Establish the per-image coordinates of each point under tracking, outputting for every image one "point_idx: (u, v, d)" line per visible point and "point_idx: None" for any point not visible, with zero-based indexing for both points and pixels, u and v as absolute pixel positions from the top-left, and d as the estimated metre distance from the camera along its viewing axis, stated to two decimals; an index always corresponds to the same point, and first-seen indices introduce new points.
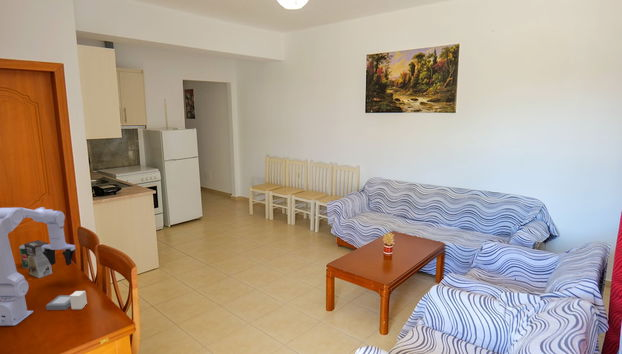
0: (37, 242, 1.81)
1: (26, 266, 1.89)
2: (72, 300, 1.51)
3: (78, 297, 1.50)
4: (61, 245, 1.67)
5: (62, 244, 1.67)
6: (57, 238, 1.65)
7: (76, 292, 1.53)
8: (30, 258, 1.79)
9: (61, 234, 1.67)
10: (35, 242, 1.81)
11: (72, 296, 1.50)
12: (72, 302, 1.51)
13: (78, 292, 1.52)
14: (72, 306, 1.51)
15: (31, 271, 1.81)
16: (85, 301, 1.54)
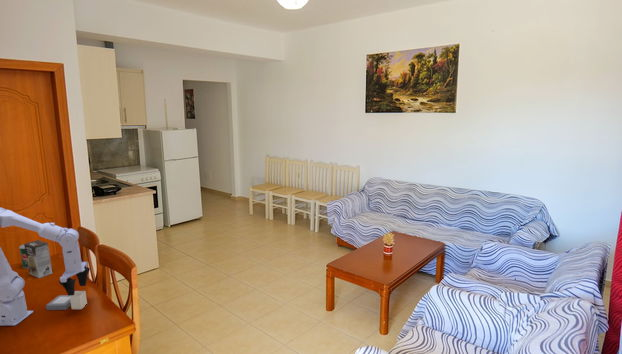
0: (37, 242, 1.81)
1: (26, 266, 1.89)
2: (72, 300, 1.51)
3: (78, 297, 1.50)
4: (66, 270, 1.47)
5: (67, 270, 1.47)
6: (64, 261, 1.47)
7: (76, 292, 1.53)
8: (30, 258, 1.79)
9: (68, 259, 1.46)
10: (35, 242, 1.81)
11: (72, 296, 1.50)
12: (72, 302, 1.51)
13: (78, 293, 1.52)
14: (72, 306, 1.51)
15: (31, 271, 1.81)
16: (84, 301, 1.54)
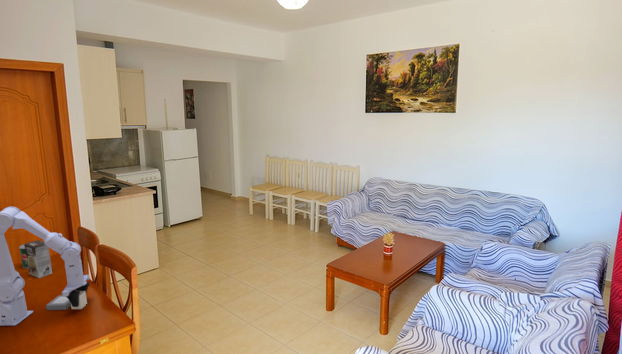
0: (37, 242, 1.81)
1: (26, 266, 1.89)
2: None
3: None
4: (68, 284, 1.49)
5: (69, 284, 1.48)
6: (66, 275, 1.49)
7: None
8: (30, 258, 1.79)
9: (71, 273, 1.47)
10: (35, 242, 1.81)
11: None
12: None
13: None
14: (72, 306, 1.51)
15: (31, 271, 1.81)
16: (84, 301, 1.54)
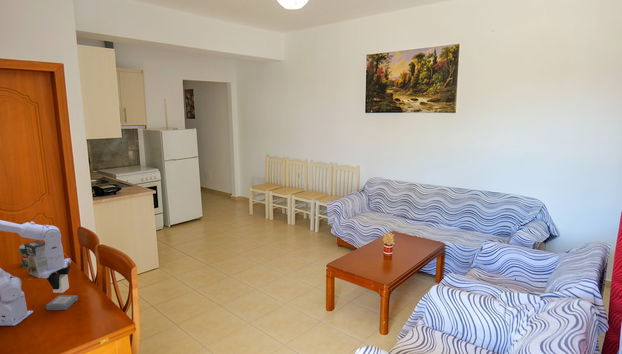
0: (37, 242, 1.81)
1: (26, 266, 1.89)
2: None
3: (60, 280, 1.51)
4: (49, 267, 1.49)
5: (49, 266, 1.49)
6: None
7: None
8: (30, 258, 1.79)
9: (53, 255, 1.48)
10: (35, 242, 1.81)
11: None
12: None
13: (60, 276, 1.53)
14: (54, 289, 1.51)
15: (31, 271, 1.81)
16: (66, 285, 1.54)
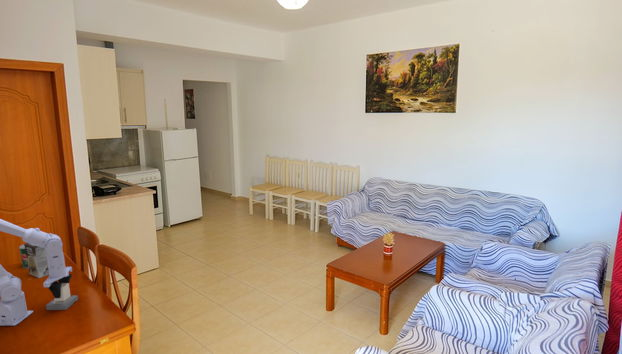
0: None
1: (26, 266, 1.89)
2: None
3: (61, 289, 1.51)
4: (50, 276, 1.50)
5: (51, 275, 1.49)
6: (48, 266, 1.50)
7: None
8: (30, 258, 1.79)
9: (54, 264, 1.49)
10: None
11: None
12: None
13: (61, 285, 1.53)
14: (55, 298, 1.52)
15: (31, 271, 1.81)
16: (68, 293, 1.55)
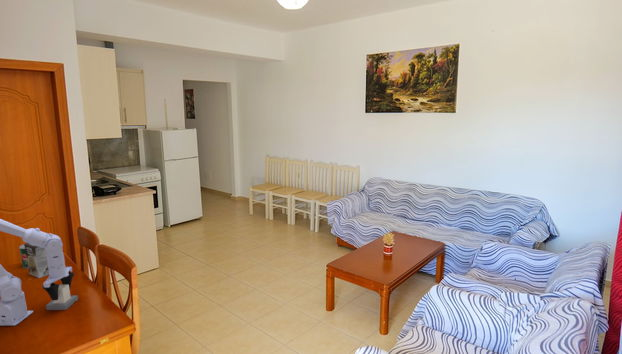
0: None
1: (26, 266, 1.89)
2: None
3: (61, 290, 1.51)
4: (50, 276, 1.50)
5: (51, 275, 1.49)
6: (48, 266, 1.50)
7: (59, 286, 1.54)
8: (30, 258, 1.79)
9: (54, 264, 1.49)
10: None
11: None
12: None
13: (61, 286, 1.54)
14: None
15: (31, 271, 1.81)
16: (68, 295, 1.55)
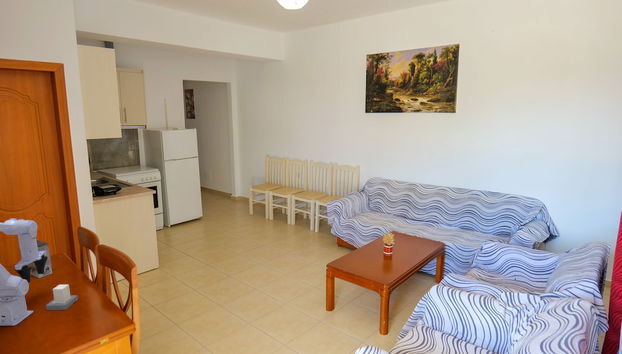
0: (37, 242, 1.81)
1: (26, 266, 1.89)
2: (55, 293, 1.52)
3: (61, 290, 1.51)
4: (22, 259, 1.53)
5: (23, 258, 1.53)
6: None
7: (59, 286, 1.54)
8: None
9: (34, 245, 1.54)
10: None
11: (55, 289, 1.51)
12: (56, 296, 1.52)
13: (61, 286, 1.54)
14: (55, 299, 1.52)
15: (31, 271, 1.81)
16: (68, 295, 1.55)
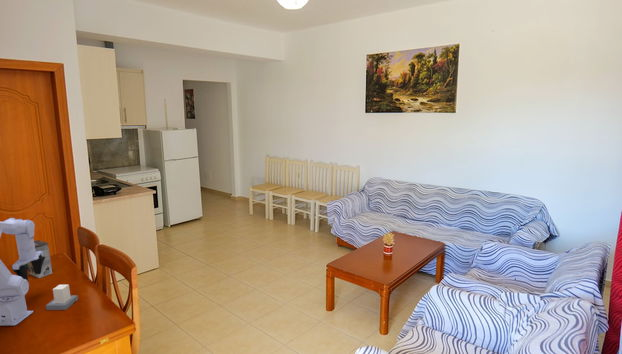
0: (37, 242, 1.81)
1: (26, 266, 1.89)
2: (55, 293, 1.52)
3: (61, 290, 1.51)
4: (20, 258, 1.53)
5: (20, 258, 1.53)
6: (18, 250, 1.53)
7: (59, 286, 1.54)
8: None
9: (32, 245, 1.54)
10: (35, 242, 1.81)
11: (55, 289, 1.51)
12: (56, 296, 1.52)
13: (61, 286, 1.54)
14: (55, 299, 1.52)
15: (31, 271, 1.81)
16: (68, 295, 1.55)
